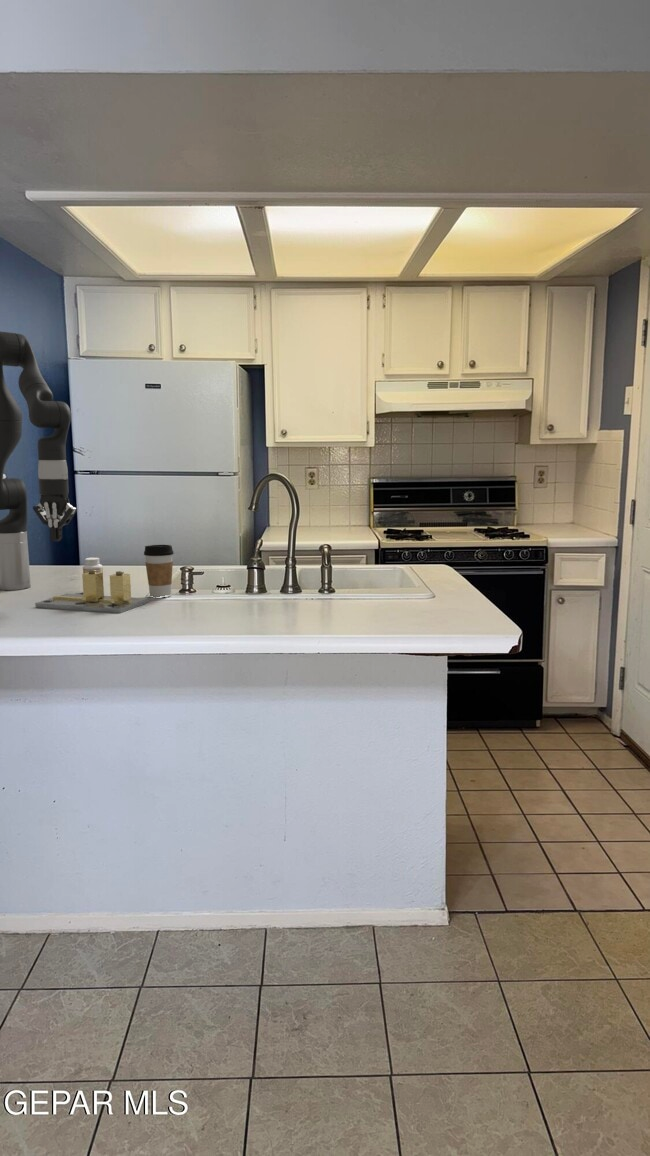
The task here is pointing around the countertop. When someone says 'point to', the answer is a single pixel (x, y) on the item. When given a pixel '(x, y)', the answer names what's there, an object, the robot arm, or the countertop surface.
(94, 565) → the supplement bottle
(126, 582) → the dividers beam
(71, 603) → the hole plate
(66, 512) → the robot arm
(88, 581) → the block
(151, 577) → the coffee cup
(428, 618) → the countertop surface
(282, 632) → the countertop surface
